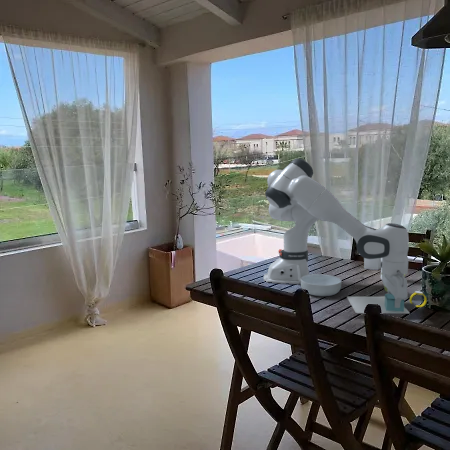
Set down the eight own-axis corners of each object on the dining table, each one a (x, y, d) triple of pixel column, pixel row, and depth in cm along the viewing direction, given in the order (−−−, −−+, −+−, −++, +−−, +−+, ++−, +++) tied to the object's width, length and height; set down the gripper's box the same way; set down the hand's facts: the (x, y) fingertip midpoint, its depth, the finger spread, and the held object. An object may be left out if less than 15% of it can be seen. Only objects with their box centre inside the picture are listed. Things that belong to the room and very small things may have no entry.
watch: (423, 306, 169) (425, 291, 168) (426, 308, 166) (428, 293, 165) (408, 305, 169) (409, 290, 168) (410, 307, 166) (412, 292, 165)
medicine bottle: (381, 267, 227) (382, 244, 225) (378, 270, 221) (378, 247, 219) (367, 265, 230) (368, 243, 229) (363, 268, 225) (364, 246, 223)
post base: (356, 316, 158) (356, 303, 158) (346, 300, 177) (346, 288, 176) (410, 317, 157) (410, 303, 156) (394, 300, 175) (395, 288, 174)
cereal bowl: (315, 304, 174) (315, 287, 172) (293, 292, 189) (293, 277, 188) (349, 297, 180) (350, 281, 179) (325, 287, 195) (325, 272, 194)
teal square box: (401, 305, 164) (401, 294, 163) (403, 311, 158) (404, 299, 158) (384, 305, 166) (384, 293, 165) (386, 310, 160) (386, 298, 159)
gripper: (413, 274, 149) (411, 313, 151) (396, 261, 169) (395, 295, 171) (393, 274, 150) (392, 313, 152) (379, 261, 170) (378, 295, 172)
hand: (393, 303), depth 162 cm, fingers closed on teal square box, 6 cm apart
